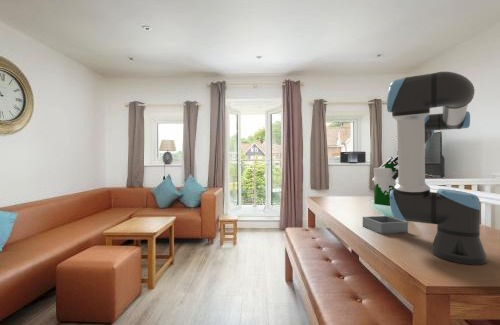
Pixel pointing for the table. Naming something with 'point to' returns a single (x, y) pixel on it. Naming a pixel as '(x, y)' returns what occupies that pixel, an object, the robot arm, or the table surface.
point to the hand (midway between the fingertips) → (380, 182)
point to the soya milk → (383, 184)
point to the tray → (385, 224)
